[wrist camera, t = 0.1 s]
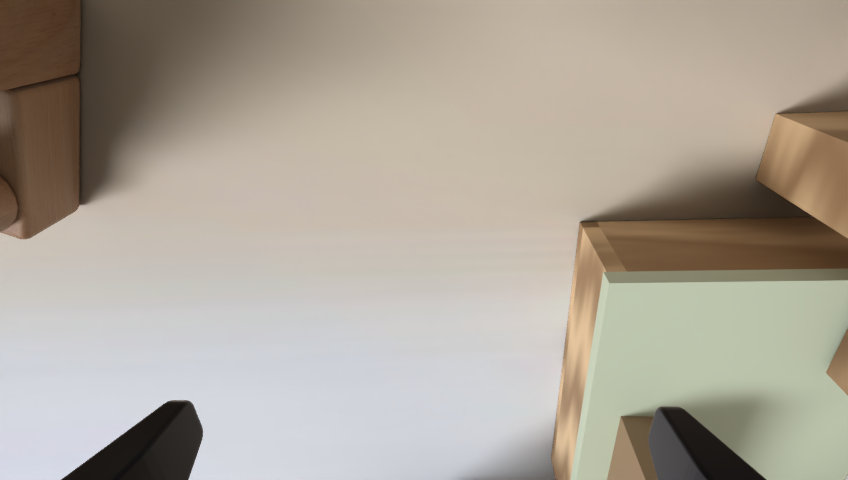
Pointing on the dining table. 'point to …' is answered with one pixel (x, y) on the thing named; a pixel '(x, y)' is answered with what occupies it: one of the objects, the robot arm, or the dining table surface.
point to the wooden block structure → (39, 113)
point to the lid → (718, 369)
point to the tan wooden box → (714, 245)
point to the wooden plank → (840, 365)
